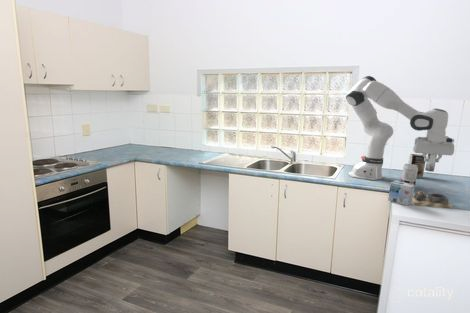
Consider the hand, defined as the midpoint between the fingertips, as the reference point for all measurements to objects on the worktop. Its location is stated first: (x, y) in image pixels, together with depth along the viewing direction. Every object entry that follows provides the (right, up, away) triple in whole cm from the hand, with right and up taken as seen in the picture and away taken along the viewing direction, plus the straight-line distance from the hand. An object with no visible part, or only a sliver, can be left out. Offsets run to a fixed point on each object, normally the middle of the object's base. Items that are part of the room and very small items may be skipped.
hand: (431, 161), depth 183 cm
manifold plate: (-5, -23, -6) cm, 24 cm away
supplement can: (-3, -17, +20) cm, 26 cm away
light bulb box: (-21, -23, -6) cm, 31 cm away
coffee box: (+17, -12, +47) cm, 51 cm away
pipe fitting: (0, -5, +1) cm, 5 cm away
